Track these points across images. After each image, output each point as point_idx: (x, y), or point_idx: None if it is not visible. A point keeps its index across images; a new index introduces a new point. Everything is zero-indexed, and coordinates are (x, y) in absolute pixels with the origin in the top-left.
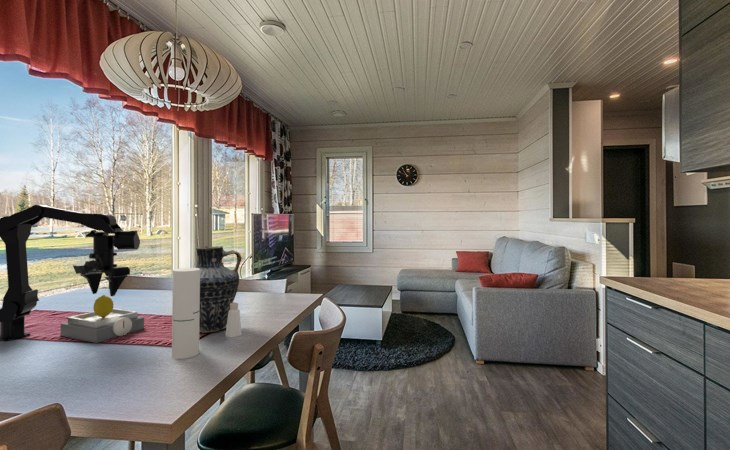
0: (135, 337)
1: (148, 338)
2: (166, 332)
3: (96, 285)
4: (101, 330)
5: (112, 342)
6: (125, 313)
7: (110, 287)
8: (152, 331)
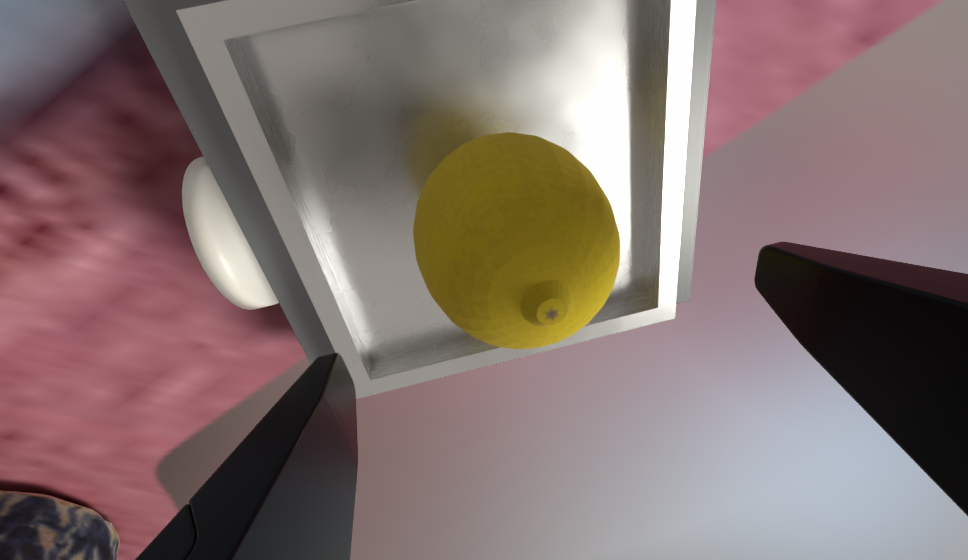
0: (140, 241)
1: (46, 284)
2: (132, 389)
3: (877, 371)
4: (152, 44)
5: (103, 87)
6: (469, 340)
7: (224, 488)
8: (222, 349)
